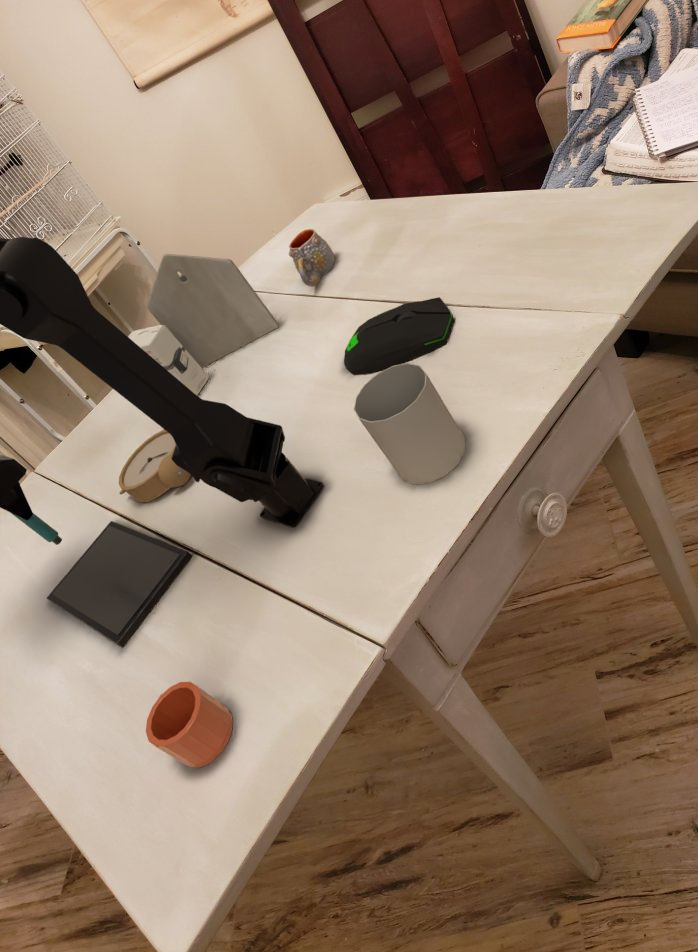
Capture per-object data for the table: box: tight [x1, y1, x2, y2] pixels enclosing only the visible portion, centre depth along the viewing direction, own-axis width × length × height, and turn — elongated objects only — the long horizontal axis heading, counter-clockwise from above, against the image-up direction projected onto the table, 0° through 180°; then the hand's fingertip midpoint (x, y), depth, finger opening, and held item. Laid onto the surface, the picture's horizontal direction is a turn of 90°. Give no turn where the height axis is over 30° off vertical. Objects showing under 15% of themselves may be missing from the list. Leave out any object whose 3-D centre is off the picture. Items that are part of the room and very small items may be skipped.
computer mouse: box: [343, 296, 455, 376], centre depth 98 cm, size 11×16×4 cm
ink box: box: [127, 324, 210, 396], centre depth 116 cm, size 8×5×12 cm, turn 68°
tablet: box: [46, 520, 193, 648], centre depth 92 cm, size 20×13×1 cm, turn 54°
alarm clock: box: [118, 429, 192, 503], centre depth 103 cm, size 11×5×15 cm
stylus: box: [10, 512, 63, 546], centre depth 89 cm, size 2×2×11 cm
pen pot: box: [145, 681, 234, 769], centre depth 67 cm, size 6×6×5 cm
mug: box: [288, 228, 336, 287], centre depth 123 cm, size 12×7×7 cm, turn 174°
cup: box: [353, 362, 466, 485], centre depth 77 cm, size 8×8×10 cm
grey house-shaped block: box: [146, 253, 280, 369], centre depth 118 cm, size 16×8×19 cm, turn 96°
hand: (27, 515), depth 89 cm, fingers closed on stylus, 1 cm apart
